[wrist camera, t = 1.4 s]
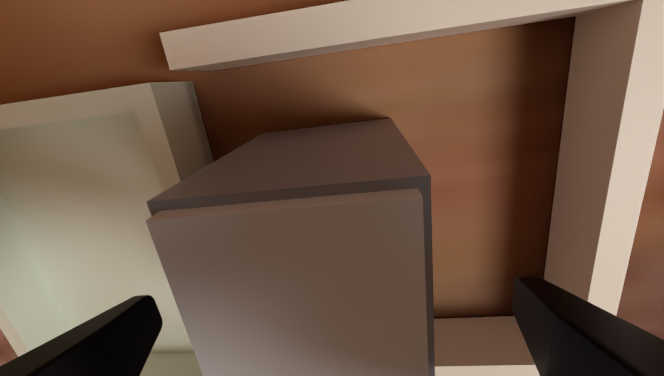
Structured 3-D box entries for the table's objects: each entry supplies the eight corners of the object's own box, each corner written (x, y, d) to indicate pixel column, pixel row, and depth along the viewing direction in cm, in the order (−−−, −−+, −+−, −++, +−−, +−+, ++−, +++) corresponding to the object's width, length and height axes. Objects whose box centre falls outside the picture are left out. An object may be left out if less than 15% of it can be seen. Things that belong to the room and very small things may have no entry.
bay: (616, -26, 9) (702, -60, 7) (560, 331, 14) (601, 383, 12) (201, 41, 11) (159, 33, 9) (275, 339, 16) (261, 386, 13)
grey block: (390, 117, 11) (435, 183, 5) (400, 274, 14) (441, 476, 7) (262, 133, 12) (131, 211, 5) (292, 280, 14) (230, 470, 7)
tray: (192, 81, 12) (149, 82, 9) (264, 351, 16) (248, 398, 14) (-40, 115, 13) (-129, 123, 11) (87, 355, 17) (45, 399, 15)
